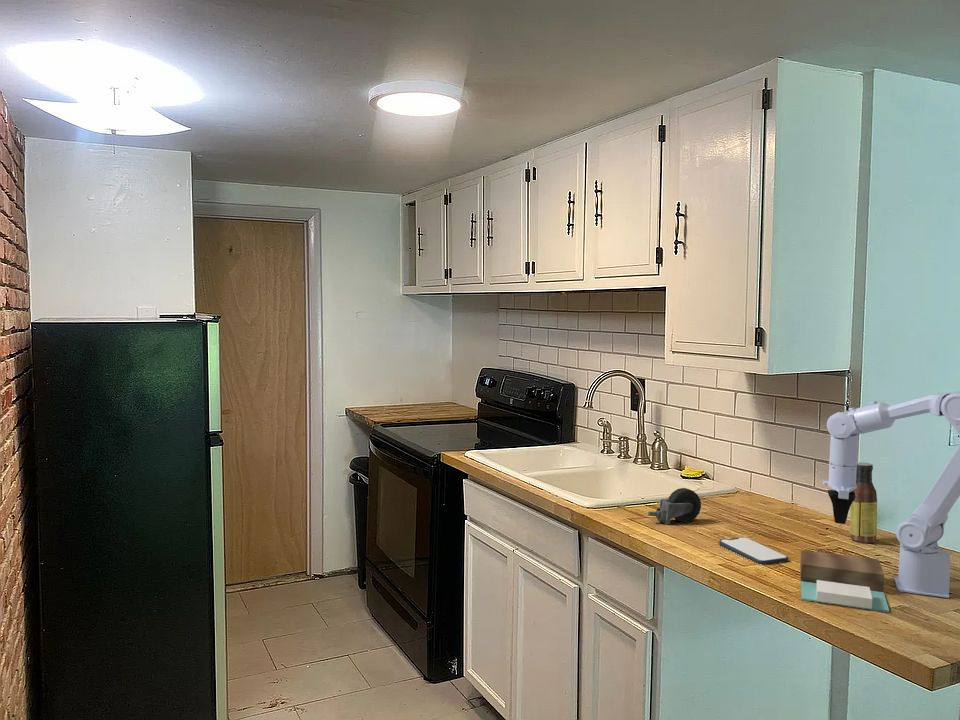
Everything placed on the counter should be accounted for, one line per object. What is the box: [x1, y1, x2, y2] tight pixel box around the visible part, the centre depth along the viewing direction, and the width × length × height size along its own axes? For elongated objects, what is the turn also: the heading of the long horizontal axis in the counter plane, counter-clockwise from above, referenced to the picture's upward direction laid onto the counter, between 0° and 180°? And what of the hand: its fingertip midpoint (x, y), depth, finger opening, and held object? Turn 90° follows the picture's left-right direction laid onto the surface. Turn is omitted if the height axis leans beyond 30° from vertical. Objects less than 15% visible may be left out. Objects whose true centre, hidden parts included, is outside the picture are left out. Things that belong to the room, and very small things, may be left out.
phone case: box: [718, 536, 789, 566], centre depth 190 cm, size 9×2×16 cm
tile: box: [816, 580, 872, 609], centre depth 160 cm, size 10×7×2 cm
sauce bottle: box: [849, 462, 878, 544], centre depth 200 cm, size 7×6×20 cm
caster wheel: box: [647, 487, 702, 525], centre depth 215 cm, size 6×10×15 cm
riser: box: [799, 549, 885, 592], centre depth 172 cm, size 16×10×4 cm, turn 69°
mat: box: [800, 580, 890, 613], centre depth 162 cm, size 16×10×1 cm, turn 68°
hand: (839, 522), depth 180 cm, fingers closed
